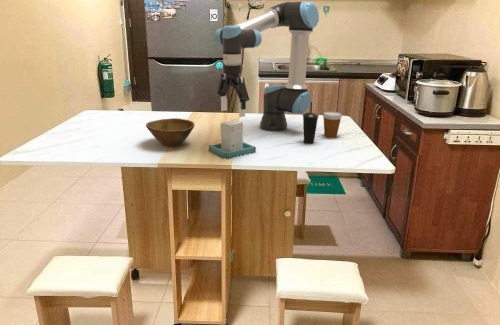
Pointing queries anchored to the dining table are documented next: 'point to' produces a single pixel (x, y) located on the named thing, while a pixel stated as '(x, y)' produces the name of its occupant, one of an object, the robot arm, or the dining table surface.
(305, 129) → the drinking cup
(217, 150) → the tray
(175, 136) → the bowl
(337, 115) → the disposable coffee cup
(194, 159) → the dining table surface
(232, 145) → the small box
